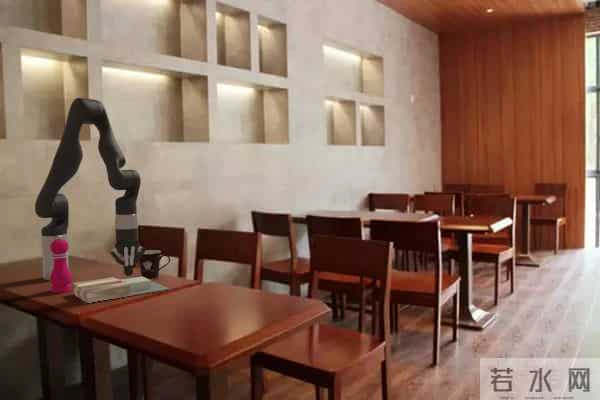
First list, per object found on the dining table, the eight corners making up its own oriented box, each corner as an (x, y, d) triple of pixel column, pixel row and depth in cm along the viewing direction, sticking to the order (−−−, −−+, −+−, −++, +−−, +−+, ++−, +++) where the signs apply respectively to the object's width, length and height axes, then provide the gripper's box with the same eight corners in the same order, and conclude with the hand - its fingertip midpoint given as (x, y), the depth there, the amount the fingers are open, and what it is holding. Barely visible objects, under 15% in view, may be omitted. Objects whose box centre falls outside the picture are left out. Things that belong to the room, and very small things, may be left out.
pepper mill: (64, 293, 188) (61, 236, 186) (45, 293, 189) (43, 236, 188) (76, 288, 195) (74, 233, 193) (58, 288, 196) (56, 233, 195)
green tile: (118, 288, 192) (117, 280, 192) (142, 284, 198) (142, 276, 198) (126, 292, 186) (125, 284, 186) (151, 288, 191) (151, 280, 191)
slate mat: (114, 288, 195) (114, 286, 195) (151, 282, 204) (151, 280, 204) (130, 296, 183) (130, 295, 183) (169, 290, 191) (169, 288, 191)
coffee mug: (133, 278, 211) (133, 253, 210) (148, 274, 219) (147, 249, 218) (158, 280, 207) (157, 254, 206) (172, 276, 215) (171, 251, 214)
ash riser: (73, 294, 187) (73, 282, 187) (114, 288, 195) (113, 277, 195) (87, 303, 174) (86, 291, 174) (130, 296, 183) (129, 285, 182)
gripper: (141, 224, 196) (142, 271, 197) (104, 227, 188) (105, 276, 189) (149, 226, 190) (150, 274, 191) (111, 229, 182) (113, 280, 183)
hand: (128, 275), depth 190 cm, fingers closed
